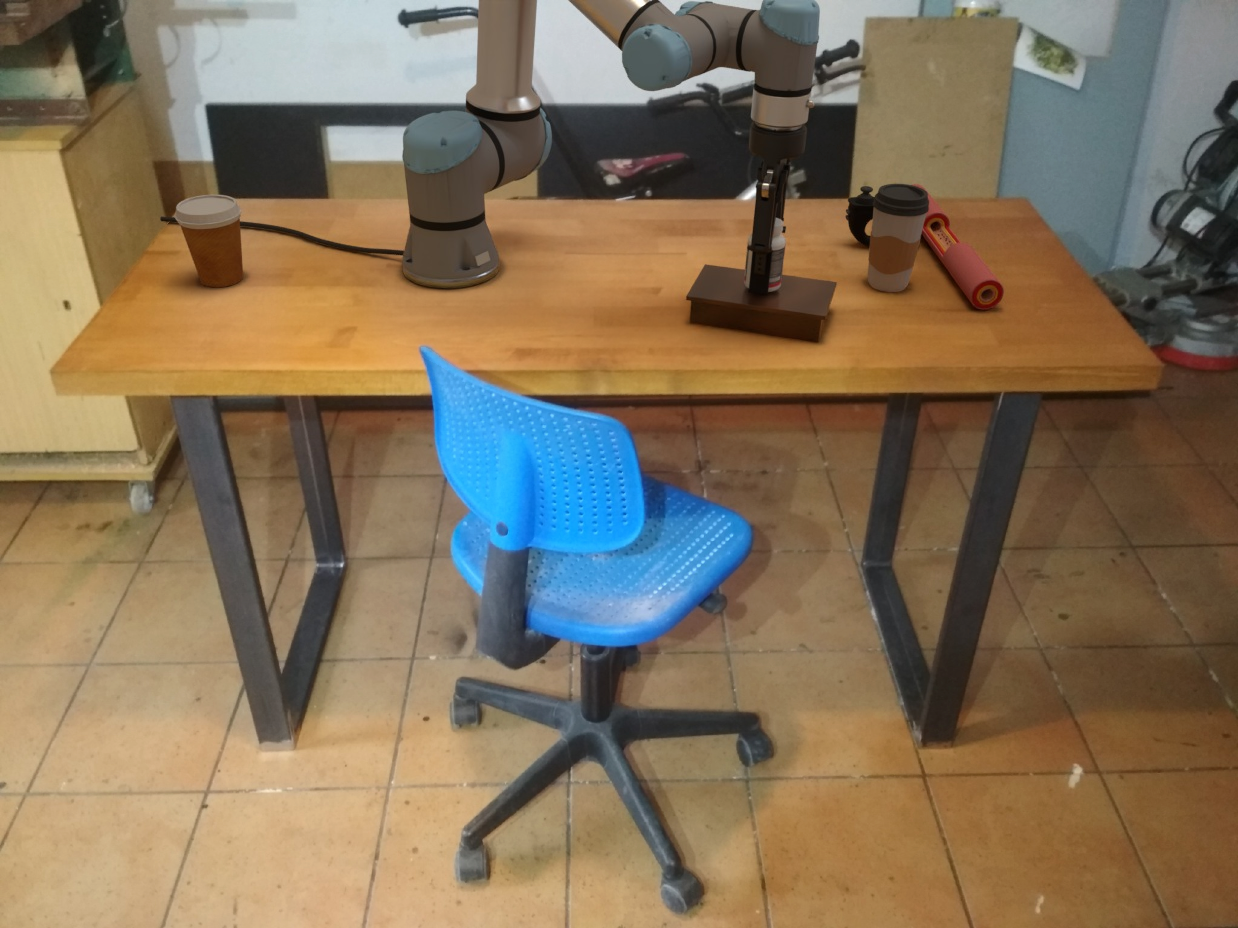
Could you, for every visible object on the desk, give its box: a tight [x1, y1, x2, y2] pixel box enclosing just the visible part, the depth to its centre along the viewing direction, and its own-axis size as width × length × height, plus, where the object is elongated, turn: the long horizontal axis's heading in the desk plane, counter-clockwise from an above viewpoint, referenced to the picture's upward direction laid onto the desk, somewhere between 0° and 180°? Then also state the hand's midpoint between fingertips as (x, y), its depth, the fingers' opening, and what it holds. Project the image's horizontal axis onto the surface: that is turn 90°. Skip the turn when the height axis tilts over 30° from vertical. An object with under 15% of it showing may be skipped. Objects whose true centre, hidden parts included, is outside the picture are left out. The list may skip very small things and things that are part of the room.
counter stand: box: [685, 263, 838, 343], centre depth 156 cm, size 20×12×4 cm, turn 73°
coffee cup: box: [866, 183, 929, 293], centre depth 163 cm, size 8×8×15 cm
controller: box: [844, 185, 875, 247], centre depth 178 cm, size 4×12×10 cm, turn 95°
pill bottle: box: [744, 218, 787, 292], centre depth 152 cm, size 5×5×10 cm
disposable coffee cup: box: [174, 194, 244, 288], centre depth 162 cm, size 10×10×12 cm
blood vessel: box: [911, 183, 1005, 311], centre depth 176 cm, size 42×5×5 cm, turn 2°
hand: (762, 283), depth 154 cm, fingers closed on pill bottle, 5 cm apart
